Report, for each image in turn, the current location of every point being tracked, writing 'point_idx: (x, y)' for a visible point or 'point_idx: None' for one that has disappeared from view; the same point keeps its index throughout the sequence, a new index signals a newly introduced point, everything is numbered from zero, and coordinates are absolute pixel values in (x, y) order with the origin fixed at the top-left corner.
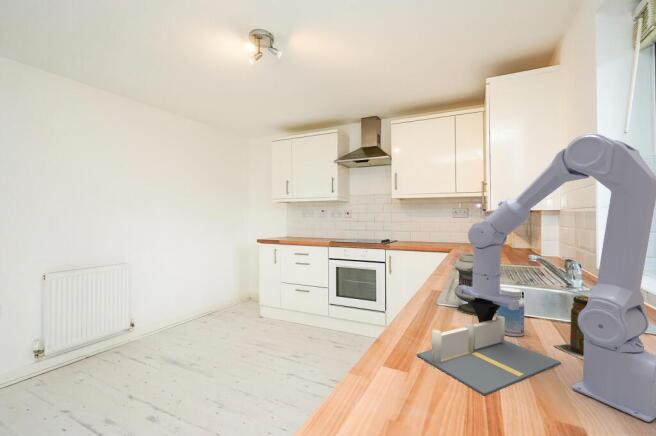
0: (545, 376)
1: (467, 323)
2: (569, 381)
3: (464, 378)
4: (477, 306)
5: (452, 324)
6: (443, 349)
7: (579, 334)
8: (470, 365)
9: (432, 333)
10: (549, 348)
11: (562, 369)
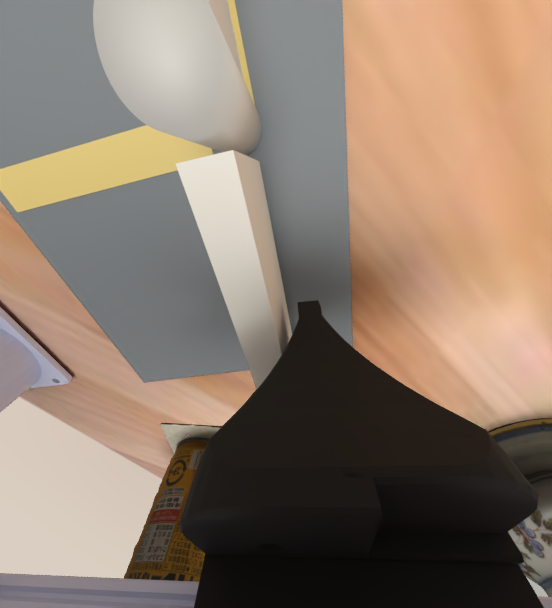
0: (58, 287)
1: (173, 23)
2: (44, 322)
3: None
4: (344, 428)
5: (520, 308)
6: None
7: (178, 492)
8: None
9: None
10: (231, 416)
11: (115, 358)
